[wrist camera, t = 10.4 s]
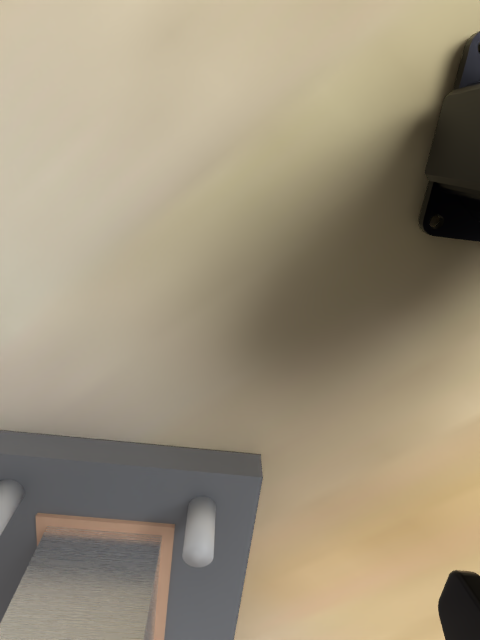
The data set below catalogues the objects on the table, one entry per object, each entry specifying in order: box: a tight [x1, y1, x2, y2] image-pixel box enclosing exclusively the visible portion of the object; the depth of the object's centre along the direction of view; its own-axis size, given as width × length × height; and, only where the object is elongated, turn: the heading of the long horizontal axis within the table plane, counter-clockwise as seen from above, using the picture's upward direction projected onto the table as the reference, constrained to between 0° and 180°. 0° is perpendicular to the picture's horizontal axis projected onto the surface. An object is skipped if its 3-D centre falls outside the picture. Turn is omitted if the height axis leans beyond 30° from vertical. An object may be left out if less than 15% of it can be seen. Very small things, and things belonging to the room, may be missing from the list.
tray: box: [0, 430, 263, 640], centre depth 21 cm, size 13×16×4 cm
